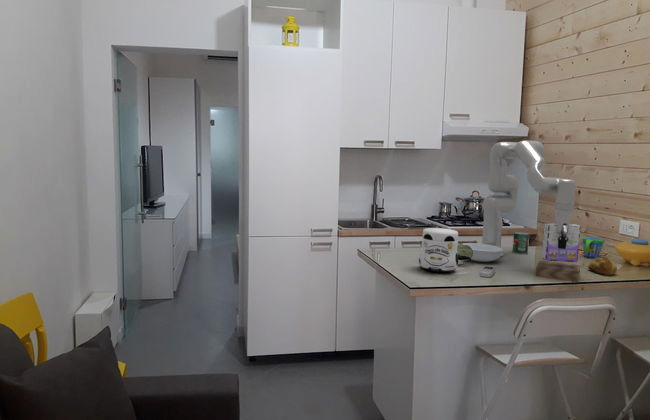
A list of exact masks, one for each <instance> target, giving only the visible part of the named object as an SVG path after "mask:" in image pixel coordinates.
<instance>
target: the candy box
mask: <svg viewBox="0 0 650 420" xmlns="http://www.w3.org/2000/svg"><path fill="white" fill-rule="evenodd" d="M581 227H582V226H581V225H579V224H576V223H575V224H574V223H570V227H569V233H567V242H566V249H559V248H558V240H559V235H560V232H558V233H557V232H556V231H557V224H556V223H555V222H545V223H544V228H543V236H542V237H543V240H542V246H541V247H542V249H541V259H543V261H550V262H564V263H566V262H568V263H578V259H579V249H580V246H579V245H580V238H581V237H580V236H581ZM561 232H563V231H561ZM567 232H568V230H567ZM561 235H562V234H561Z"/></svg>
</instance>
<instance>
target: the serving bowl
mask: <svg viewBox="0 0 650 420" xmlns="http://www.w3.org/2000/svg"><path fill="white" fill-rule="evenodd" d="M462 244H463V245H468V246H470V247H471V248H472V250H473V257H472V258H471V260H470V261H474V262H478V263H487V262H492V261H493V262H494V261H496V260H498V259H500V257H502V256H501V254H502V253H503V248H500V247H497V246H492V245H487V244H482V243H479V242H478V243H476V242H466V243H465V242H464V243H462Z"/></svg>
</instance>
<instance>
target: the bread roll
mask: <svg viewBox="0 0 650 420" xmlns="http://www.w3.org/2000/svg"><path fill="white" fill-rule="evenodd" d="M587 268H588V270H589V271H591V272H594V273H597V274H599V275H602V276H611V275H612V276H613V275H616V273H617V271H618V266H617V264H616V263H615V262H614V261H612V260H611V259H609V258H602V257H599V258H592V260H590V262H589V263H588V265H587Z"/></svg>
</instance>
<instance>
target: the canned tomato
mask: <svg viewBox="0 0 650 420" xmlns="http://www.w3.org/2000/svg"><path fill="white" fill-rule="evenodd" d="M529 240H530V232H525V231H514V232H513V240H512V252H511V253H513V254H516V253H517V254H519V255H528V251H529Z"/></svg>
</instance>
